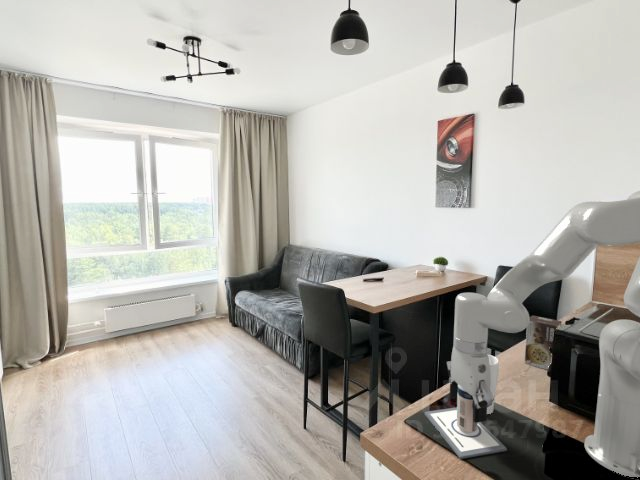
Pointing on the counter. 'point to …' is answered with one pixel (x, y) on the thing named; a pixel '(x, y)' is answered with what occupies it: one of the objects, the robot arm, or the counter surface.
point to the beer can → (465, 411)
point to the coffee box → (539, 341)
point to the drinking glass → (492, 380)
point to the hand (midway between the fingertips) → (466, 408)
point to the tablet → (464, 435)
